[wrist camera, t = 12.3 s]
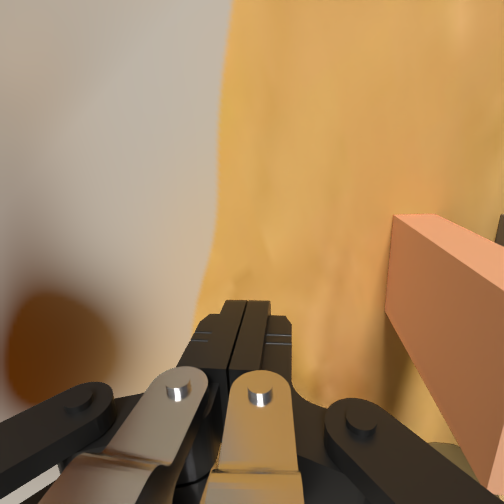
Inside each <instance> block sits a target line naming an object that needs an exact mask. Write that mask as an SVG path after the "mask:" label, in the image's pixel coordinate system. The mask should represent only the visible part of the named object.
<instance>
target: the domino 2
mask: <svg viewBox="0 0 504 504" xmlns="http://www.w3.org/2000/svg"><path fill="white" fill-rule="evenodd" d="M495 243H497V244H499V245H501V246H503V247H504V214H501V216H500V221H499V226H498V231H497V235H496V240H495Z"/></svg>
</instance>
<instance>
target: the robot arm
mask: <svg viewBox="0 0 504 504" xmlns="http://www.w3.org/2000/svg"><path fill="white" fill-rule="evenodd" d="M291 370H292V324H291V323H290V322H289V320H288V319H287V318H286V316H275V315H271V304H270V301H256V300H249V301H247V300H226V301H225V303H224V306H223V308H222V310H221V312H220V314H209V315H208V316H207V317H206V318H204V319H203V320H202V321H200V323H199V325H198V327H197V328H196V330H195V333H194V334H193V336H192V338H191V341H190V342H189V344H188V346H187V347H186V349H185V351H184V353H183V355H182V357H181V359H180V360H179V362H178V364H177V366H176V368H173V369H170V370H167V371H165V372H163V373H162V374H160V375H159V376H157V378H155V379H154V380H153V382H152V383H151V384H150V386H149V387H148V389H147V390H146V391H145V393H141V394H137V395H131V396H126V397H121V398H115V399H114V396H113V391H112V389H111V387H110V386H109V385H107V384H105V383H102V382H88V383H84V384H80V385H77V386H75V387H72V388H70V389H68V390H66V391H64V392H62V393H60V394H58V395H56V396H54V397H52V398H50V399H48V400H46V401H43V402H42V403H39V404H38V405H36V406H33V407H31V408H29V409H27V410H25V411H23V412H21V413H19V414H17V415H15V416H13V417H11V418H9V419H7V420H5V421H3V422H1V423H0V499H2V498H3V497H5V496H7V495H8V494H9V493H11V492H13V491H15V490H16V489H18V488H19V487H21V486H23V485H24V484H26V483H27V482H29V481H31V480H32V479H34V478H36V477H37V476H39V475H40V474H42V473H43V472H45V471H47V470H48V469H50V468H52V467H53V466H55V465H56V464H57V465H58V468H59V471H60V476H59V477H58V478H57V480H55V481H54V482H52V483H51V484H49V485H48V486H46V487H44V488H43V489H42V490H40V491H38V492H37V493H35V494H34V495H32V496H31V497H29V498H28V499H26V500H25V501H23V502H21V503H20V504H504V502H503V501H502V500H500V499H499V498H498V497H497V496H495V495H494V494H493V493H491V492H490V491H489V490H487V489H486V488H485V487H484V486H482V485H481V484H480V483H478V482H477V481H476V480H474V479H473V478H472V477H471V476H469V475H468V474H467V473H465V472H464V471H463V470H462V469H460V468H459V467H458V466H456V465H455V464H454V463H452V462H451V461H450V460H449V459H447V458H446V457H445V456H443V455H442V454H441V453H440V452H438V451H437V450H436V449H434V448H433V447H432V446H430V445H429V444H428V443H427V442H425V441H424V440H423V439H421V438H420V437H419V436H417V435H416V434H415V433H414V432H412V431H411V430H410V429H408V428H407V427H406V426H405V425H403V424H402V423H401V422H399V421H398V420H397V419H395V418H394V417H393V416H392V415H390V414H389V413H388V412H386V411H385V410H384V409H382V408H381V407H379V406H378V405H376V404H374V403H372V402H369V401H367V400H363V399H357V398H346V399H341V400H338V401H336V402H334V403H333V404H332V405H331V406H330V407H329V408H328V409H326V408H323V407H320V406H317V405H315V404H312V403H310V402H308V401H306V400H305V399H303V398H302V397H301V396H300V395H299V394H298V393H297V392H296V391H295V389H294V388H293V385H292V382H291ZM220 443H222V446H221V452H220V458H219V464H218V468H217V465H216V459H217V455H218V451H219V447H220Z"/></svg>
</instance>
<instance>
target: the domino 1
mask: <svg viewBox="0 0 504 504" xmlns="http://www.w3.org/2000/svg"><path fill="white" fill-rule="evenodd" d="M385 312H386V314H387V316H388V318H389V320H390V321H391V323H392V325H393V327H394V329H395V331H396V332H397V334H398V336H399V338H400V340H401V341H402V343H403V345H404V347H405V349H406V350H407V352H408V354H409V356H410V358H411V359H412V361H413V363H414V365H415V367H416V368H417V370H418V372H419V374H420V376H421V378H422V379H423V381H424V383H425V385H426V387H427V388H428V390H429V392H430V394H431V396H432V397H433V399H434V401H435V403H436V405H437V406H438V408H439V410H440V412H441V414H442V415H443V417H444V419H445V421H446V423H447V425H448V426H449V428H450V430H451V432H452V434H453V435H454V437H455V439H456V441H457V443H458V444H459V446H460V448H461V450H462V452H463V453H464V455H465V457H466V459H467V461H468V462H469V464H470V466H471V468H472V470H473V472H474V473H475V475H476V477H477V479H478V481H479V482H480V484H481V485H482V486H484V487H485V488H486V489H487V490H489V491H490V492H491V493H493V494H496V495H504V247H503V246H501V245H499V244H497V243H495V242H493V241H490V240H488V239H486V238H484V237H482V236H480V235H478V234H476V233H474V232H472V231H470V230H468V229H466V228H463V227H461V226H459V225H457V224H455V223H453V222H451V221H449V220H447V219H445V218H443V217H441V216H438V215H436V214H406V215H393V225H392V236H391V247H390V257H389V268H388V279H387V290H386V300H385Z"/></svg>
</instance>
